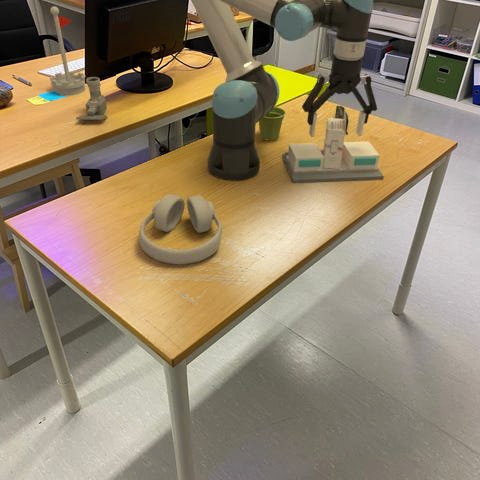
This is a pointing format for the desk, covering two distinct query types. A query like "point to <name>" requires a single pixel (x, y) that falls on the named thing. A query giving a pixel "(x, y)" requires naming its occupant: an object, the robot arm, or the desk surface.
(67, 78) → the flag stand
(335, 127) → the ink cartridge box
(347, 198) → the desk surface
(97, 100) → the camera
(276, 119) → the plant pot
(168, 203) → the headphones
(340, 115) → the mobile phone
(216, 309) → the desk surface
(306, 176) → the rail panel
